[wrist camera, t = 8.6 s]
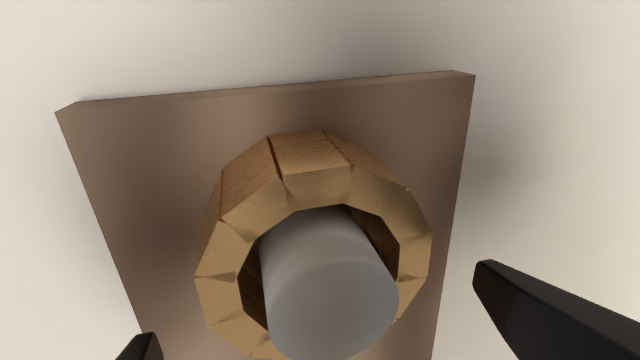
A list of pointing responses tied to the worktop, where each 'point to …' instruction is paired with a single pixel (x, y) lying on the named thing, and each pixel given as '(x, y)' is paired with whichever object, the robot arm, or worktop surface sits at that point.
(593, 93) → the worktop surface
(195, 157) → the post board
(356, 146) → the wooden ring
